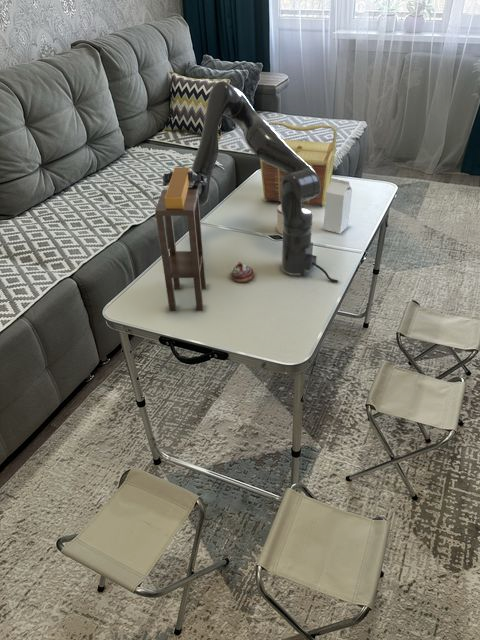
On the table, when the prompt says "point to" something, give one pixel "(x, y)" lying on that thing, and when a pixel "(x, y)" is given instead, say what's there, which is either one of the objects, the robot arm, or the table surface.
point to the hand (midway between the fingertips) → (180, 175)
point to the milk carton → (337, 205)
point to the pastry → (242, 273)
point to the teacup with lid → (280, 220)
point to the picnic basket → (312, 155)
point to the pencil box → (177, 188)
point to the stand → (181, 261)
